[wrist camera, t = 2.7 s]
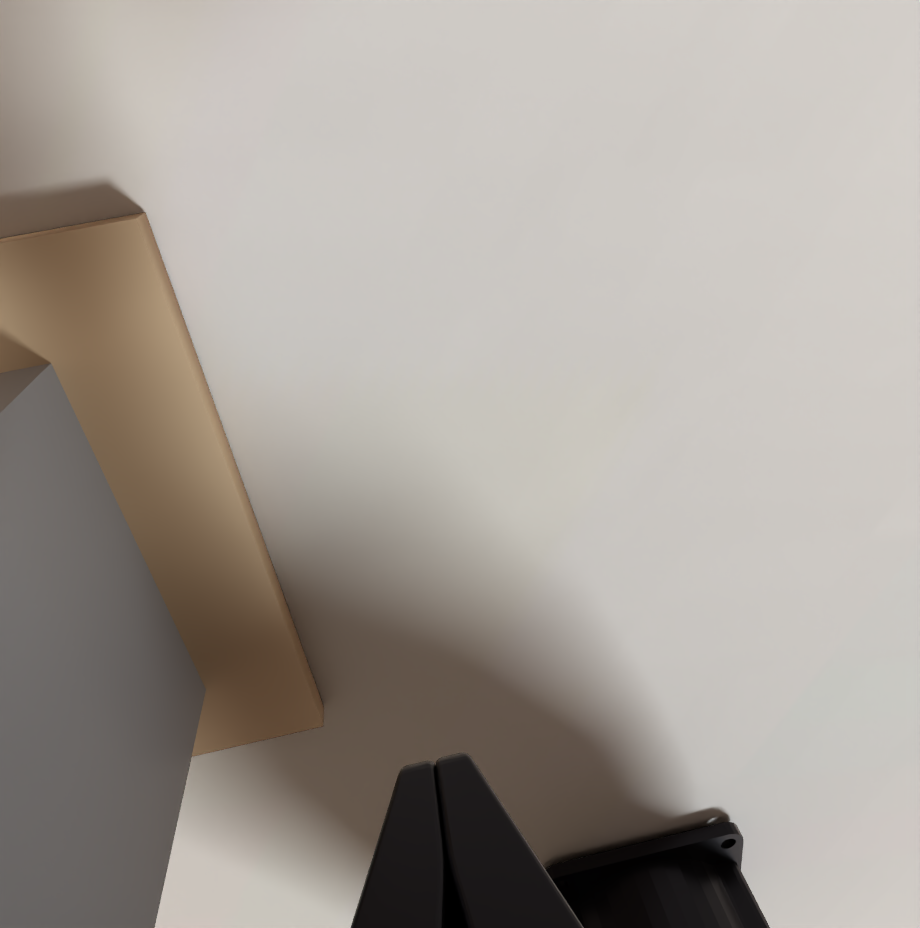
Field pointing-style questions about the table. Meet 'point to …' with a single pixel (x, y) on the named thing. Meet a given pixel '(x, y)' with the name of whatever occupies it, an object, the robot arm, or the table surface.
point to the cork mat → (162, 462)
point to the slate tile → (81, 683)
